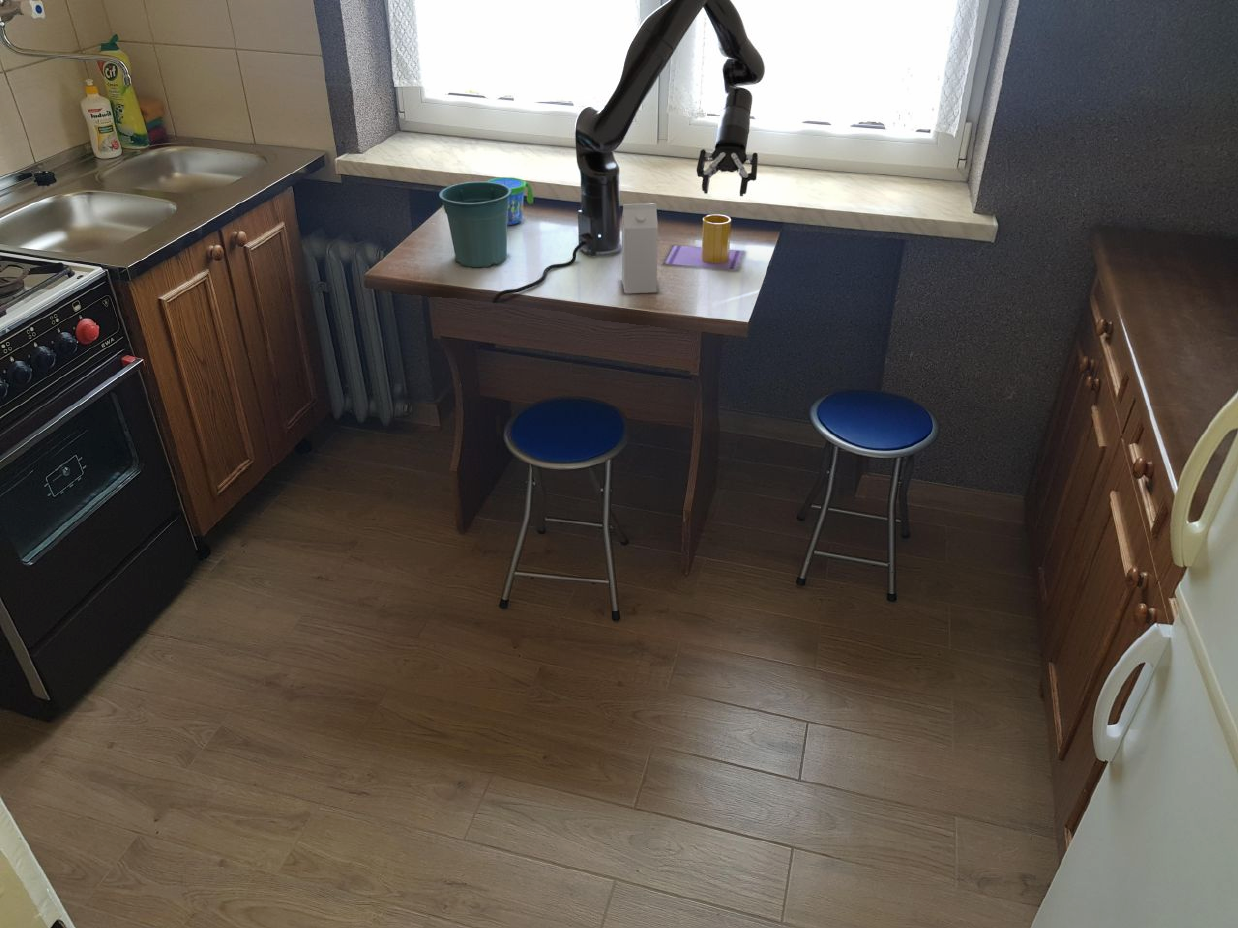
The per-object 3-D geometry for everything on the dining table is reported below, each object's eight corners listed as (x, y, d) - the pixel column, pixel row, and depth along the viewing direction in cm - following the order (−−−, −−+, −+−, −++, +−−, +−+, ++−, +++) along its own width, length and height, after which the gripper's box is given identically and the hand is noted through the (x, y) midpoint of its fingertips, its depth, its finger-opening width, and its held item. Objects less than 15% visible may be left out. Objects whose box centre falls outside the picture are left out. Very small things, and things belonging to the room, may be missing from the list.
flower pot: (432, 259, 228) (424, 192, 219) (484, 240, 238) (479, 176, 229) (476, 277, 219) (470, 208, 210) (529, 257, 229) (525, 191, 220)
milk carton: (621, 281, 216) (621, 199, 206) (652, 280, 217) (654, 198, 206) (624, 294, 211) (624, 210, 200) (656, 293, 211) (658, 209, 200)
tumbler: (712, 265, 223) (714, 226, 218) (696, 256, 228) (697, 217, 223) (734, 259, 226) (736, 220, 221) (717, 251, 231) (719, 212, 225)
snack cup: (524, 210, 256) (521, 172, 251) (543, 221, 249) (541, 182, 243) (471, 221, 249) (468, 183, 244) (490, 233, 242) (486, 194, 236)
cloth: (664, 264, 225) (664, 263, 224) (674, 246, 234) (674, 245, 234) (736, 271, 221) (736, 269, 221) (743, 252, 231) (743, 251, 231)
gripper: (702, 121, 228) (692, 184, 225) (762, 124, 225) (752, 188, 222) (704, 138, 235) (695, 199, 232) (762, 141, 232) (753, 203, 229)
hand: (723, 193), depth 227 cm, fingers open, 8 cm apart
